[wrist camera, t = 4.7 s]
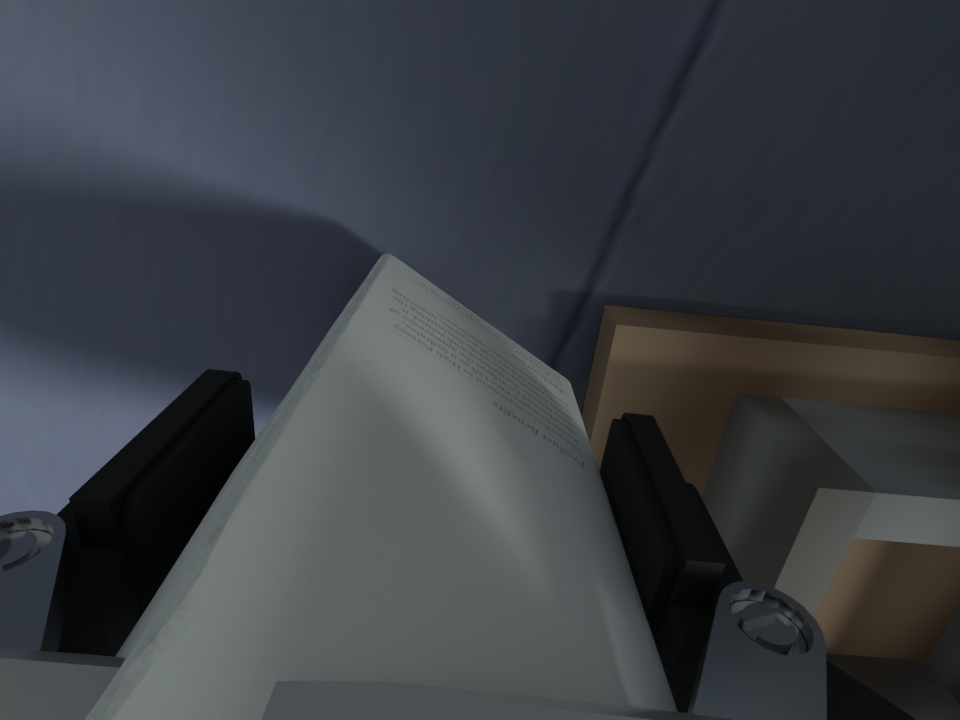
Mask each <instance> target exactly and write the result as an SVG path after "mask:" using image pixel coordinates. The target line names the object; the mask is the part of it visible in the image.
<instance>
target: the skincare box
mask: <svg viewBox="0 0 960 720" xmlns="http://www.w3.org/2000/svg"><path fill="white" fill-rule="evenodd" d="M115 657H122V658H125V660H124V662H123V664H122V666H121V667H120V669H119V670H118V672H117V673H116V675H115V676H114V678H113V679H112V681H111V683H110V684H109V685H108V687H107V688H106V690H105V691H104V693H103V694H102V695H101V697H100V698H99V700H98V701H97V703H96V704H95V705H94V707H93V708H92V710H91V711H90V713H89V714H88V715H87V717H86V718H85V720H261V719H262V716H263V714H264V711H265V709H266V706H267V704H268V701H269V699H270V697H271V694H272V691H273V689H274V686H275V684H276V681H383V682H393V683H404V684H414V685H424V686H435V687H445V688H455V689H465V690H475V691H485V692H495V693H505V694H515V695H525V696H534V697H544V698H554V699H564V700H574V701H584V702H594V703H604V704H613V705H622V706H631V707H639V708H647V709H656V710H664V711H673V712H678V711H677V708H676V705H675V702H674V699H673V696H672V693H671V690H670V687H669V684H668V681H667V678H666V675H665V672H664V669H663V666H662V663H661V660H660V657H659V654H658V651H657V648H656V644H655V641H654V638H653V635H652V632H651V629H650V626H649V623H648V621H647V618H646V615H645V612H644V609H643V606H642V602H641V599H640V596H639V593H638V590H637V587H636V584H635V581H634V578H633V575H632V571H631V568H630V565H629V562H628V559H627V556H626V553H625V550H624V547H623V543H622V540H621V537H620V534H619V531H618V528H617V525H616V522H615V518H614V515H613V512H612V509H611V506H610V503H609V500H608V497H607V494H606V491H605V488H604V484H603V481H602V478H601V475H600V472H599V469H598V467H597V463H596V460H595V457H594V455H593V452H592V449H591V446H590V443H589V440H588V436H587V433H586V430H585V426H584V423H583V420H582V417H581V414H580V411H579V408H578V405H577V401H576V398H575V395H574V392H573V389H572V386H571V383H570V382H569V380H567V379H566V378H565V377H563V376H562V375H561V374H559V373H558V372H556V371H555V370H553V369H552V368H550V367H549V366H548V365H546V364H545V363H543V362H542V361H541V360H539V359H538V358H536V357H535V356H534V355H532V354H531V353H529V352H528V351H527V350H525V349H524V348H522V347H521V346H520V345H518V344H517V343H515V342H514V341H513V340H511V339H510V338H508V337H507V336H506V335H504V334H503V333H501V332H500V331H499V330H497V329H496V328H494V327H493V326H492V325H490V324H489V323H487V322H486V321H485V320H483V319H482V318H480V317H479V316H477V315H476V314H475V313H473V312H472V311H470V310H469V309H468V308H466V307H465V306H463V305H462V304H461V303H459V302H458V301H456V300H455V299H453V298H452V297H451V296H449V295H448V294H446V293H445V292H444V291H442V290H441V289H439V288H438V287H437V286H435V285H434V284H432V283H431V282H430V281H428V280H427V279H426V278H424V277H423V276H421V275H420V274H419V273H417V272H416V271H414V270H413V269H412V268H410V267H409V266H408V265H406V264H405V263H403V262H402V261H400V260H399V259H397V258H396V257H394V256H393V255H391V254H388V253H385V254H383V255H382V256H381V257H380V258H379V260H378V261H377V262H376V264H375V265H374V267H373V268H372V270H371V271H370V272H369V274H368V275H367V277H366V278H365V280H364V281H363V282H362V284H361V285H360V287H359V288H358V290H357V291H356V292H355V294H354V295H353V297H352V298H351V300H350V301H349V302H348V304H347V305H346V307H345V308H344V309H343V311H342V312H341V314H340V315H339V317H338V318H337V320H336V321H335V322H334V324H333V325H332V327H331V328H330V330H329V331H328V333H327V334H326V336H325V337H324V339H323V340H322V342H321V343H320V345H319V347H318V348H317V350H316V351H315V353H314V354H313V356H312V357H311V359H310V360H309V362H308V364H307V365H306V367H305V368H304V370H303V371H302V373H301V374H300V376H299V377H298V378H297V380H296V381H295V383H294V384H293V386H292V387H291V389H290V390H289V392H288V393H287V395H286V396H285V398H284V399H283V400H282V402H281V403H280V405H279V406H278V407H277V409H276V410H275V412H274V413H273V415H272V416H271V417H270V419H269V420H268V422H267V423H266V425H265V426H264V428H263V429H262V430H261V432H260V433H259V435H258V436H257V438H256V439H255V440H254V442H253V443H252V445H251V446H250V448H249V449H248V451H247V452H246V453H245V455H244V456H243V458H242V459H241V461H240V462H239V464H238V465H237V466H236V468H235V469H234V471H233V472H232V474H231V475H230V477H229V479H228V480H227V482H226V483H225V485H224V486H223V488H222V490H221V491H220V493H219V494H218V496H217V498H216V499H215V501H214V502H213V504H212V505H211V507H210V509H209V510H208V512H207V513H206V515H205V517H204V518H203V520H202V521H201V523H200V525H199V526H198V528H197V529H196V531H195V532H194V534H193V536H192V537H191V539H190V540H189V542H188V544H187V545H186V547H185V548H184V550H183V551H182V553H181V555H180V556H179V558H178V559H177V561H176V563H175V564H174V566H173V567H172V569H171V570H170V572H169V574H168V575H167V577H166V578H165V580H164V582H163V583H162V585H161V586H160V588H159V589H158V591H157V593H156V594H155V596H154V597H153V599H152V601H151V602H150V604H149V605H148V607H147V608H146V610H145V611H144V613H143V614H142V616H141V617H140V619H139V621H138V622H137V624H136V625H135V627H134V628H133V630H132V631H131V633H130V634H129V636H128V637H127V639H126V640H125V642H124V644H123V645H122V647H121V648H120V650H119V651H118V653H117V654H116V656H115Z"/></svg>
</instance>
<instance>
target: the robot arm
mask: <svg viewBox="0 0 960 720" xmlns="http://www.w3.org/2000/svg"><path fill="white" fill-rule="evenodd" d="M254 440H255V431H254V420H253V408H252V396H251V386H250V383H249V381H248V380H242V377H241V374H240V373H238V372H231V371H222V370H212V369H208V370H207V371H205V372H204V373H203V374H202V375H201V376H200V377H199V378H198V379H196V380H195V381H194V382H193V383H192V384H191V385H190V386H189V387H188V388H187V389H186V390H185V391H184V392H183V393H181V394H180V395H179V396H178V397H177V398H176V399H175V400H174V401H173V402H172V403H171V404H170V405H169V406H168V407H166V408H165V409H164V410H163V411H162V412H161V413H160V414H159V415H158V416H157V417H156V418H155V419H154V420H153V421H151V422H150V423H149V424H148V425H147V426H146V427H145V428H144V429H143V430H142V431H141V432H140V433H139V434H138V435H136V436H135V437H134V438H133V439H132V440H131V441H130V442H129V443H128V444H127V445H126V446H125V447H124V448H123V449H121V450H120V451H119V452H118V453H117V454H116V455H115V456H114V457H113V458H112V459H111V460H110V461H109V462H107V463H106V464H105V465H104V466H103V467H102V468H101V469H100V470H99V471H98V472H97V473H96V474H95V475H94V476H92V477H91V478H90V479H89V480H88V481H87V482H86V483H85V484H84V485H83V486H82V487H81V488H80V489H79V490H77V491H76V492H75V493H74V494H73V495H72V496H71V497H70V498H69V500H70V502H69V503H68V504H67V505H66V506H65V507H64V508H63V509H62V510H61V511H60V512H59V513H58V514H57V515H55V514H52V513H50V512H45V511H34V510H32V511H23V512H14V513H10V514H6V515H3V516H0V720H85V718H86V717H87V715H88V714H89V713H90V711H91V710H92V708H93V707H94V705H95V704H96V703H97V701H98V700H99V698H100V697H101V695H102V694H103V693H104V691H105V690H106V688H107V687H108V685H109V684H110V683H111V681H112V679H113V678H114V676H115V675H116V673H117V672H118V670H119V669H120V667H121V666H122V664H123V662H124V660H125V658H122V657H115V656H116V654H117V653H118V651H119V650H120V648H121V647H122V645H123V644H124V642H125V640H126V639H127V637H128V636H129V634H130V633H131V631H132V630H133V628H134V627H135V625H136V624H137V622H138V621H139V619H140V617H141V616H142V614H143V613H144V611H145V610H146V608H147V607H148V605H149V604H150V602H151V601H152V599H153V597H154V596H155V594H156V593H157V591H158V589H159V588H160V586H161V585H162V583H163V582H164V580H165V578H166V577H167V575H168V574H169V572H170V570H171V569H172V567H173V566H174V564H175V563H176V561H177V559H178V558H179V556H180V555H181V553H182V551H183V550H184V548H185V547H186V545H187V544H188V542H189V540H190V539H191V537H192V536H193V534H194V532H195V531H196V529H197V528H198V526H199V525H200V523H201V521H202V520H203V518H204V517H205V515H206V513H207V512H208V510H209V509H210V507H211V505H212V504H213V502H214V501H215V499H216V498H217V496H218V494H219V493H220V491H221V490H222V488H223V486H224V485H225V483H226V482H227V480H228V479H229V477H230V475H231V474H232V472H233V471H234V469H235V468H236V466H237V465H238V464H239V462H240V461H241V459H242V458H243V456H244V455H245V453H246V452H247V451H248V449H249V448H250V446H251V445H252V443H253V442H254ZM600 475H601V478H602V481H603V484H604V488H605V491H606V494H607V497H608V500H609V503H610V506H611V509H612V512H613V515H614V518H615V522H616V525H617V528H618V531H619V534H620V537H621V540H622V543H623V547H624V550H625V553H626V556H627V559H628V562H629V565H630V568H631V571H632V575H633V578H634V581H635V584H636V587H637V590H638V593H639V596H640V599H641V602H642V606H643V609H644V612H645V615H646V618H647V621H648V623H649V626H650V629H651V632H652V635H653V638H654V641H655V644H656V648H657V651H658V654H659V657H660V660H661V663H662V666H663V669H664V672H665V675H666V678H667V681H668V684H669V687H670V690H671V693H672V696H673V699H674V702H675V705H676V708H677V711H678V712H673V711H664V710H656V709H647V708H639V707H631V706H622V705H613V704H604V703H594V702H584V701H574V700H564V699H554V698H544V697H534V696H525V695H515V694H505V693H495V692H485V691H475V690H465V689H455V688H445V687H435V686H424V685H414V684H404V683H393V682H383V681H276V684H275V686H274V689H273V691H272V694H271V697H270V699H269V701H268V704H267V706H266V709H265V711H264V714H263V716H262V719H261V720H916V719H915V718H913V717H912V716H910V715H909V714H907V713H906V712H904V711H903V710H901V709H900V708H898V707H897V706H895V705H894V704H892V703H891V702H889V701H888V700H886V699H885V698H883V697H882V696H880V695H879V694H877V693H876V692H874V691H873V690H871V689H870V688H868V687H867V686H865V685H864V684H862V683H861V682H859V681H858V680H856V679H855V678H853V677H852V676H850V675H849V674H847V673H846V672H844V671H843V670H841V669H840V668H838V667H837V666H835V665H834V664H832V663H831V662H829V661H828V660H826V642H825V638H824V634H823V631H822V630H821V628H820V626H819V624H818V623H817V621H816V619H815V618H814V617H813V616H812V615H811V614H810V613H809V612H808V611H807V610H806V609H805V607H804V606H802V605H801V604H800V603H798V602H797V601H796V600H794V599H793V598H792V597H790V596H789V595H787V594H785V593H783V592H781V591H779V590H777V589H776V588H773V587H770V586H767V585H764V584H761V583H758V582H749V581H743V579H742V577H741V575H740V573H739V571H738V569H737V567H736V565H735V563H734V561H733V559H732V557H731V555H730V553H729V551H728V549H727V547H726V545H725V543H724V542H723V540H722V538H721V536H720V534H719V532H718V530H717V528H716V526H715V524H714V522H713V520H712V518H711V516H710V514H709V512H708V510H707V508H706V506H705V504H704V502H703V500H702V498H701V496H700V494H699V492H698V490H697V489H696V487H695V486H694V485H693V484H691V483H686V481H685V479H684V477H683V475H682V473H681V471H680V469H679V467H678V465H677V463H676V461H675V459H674V457H673V455H672V453H671V451H670V448H669V446H668V444H667V442H666V440H665V438H664V436H663V434H662V432H661V430H660V428H659V426H658V424H657V422H656V420H655V418H654V417H653V416H652V415H644V414H634V413H624V414H623V415H622V417H621V419H615V418H614V419H613V420H612V422H611V426H610V430H609V434H608V438H607V442H606V446H605V451H604V455H603V459H602V463H601V467H600Z"/></svg>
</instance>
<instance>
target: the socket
mask: <svg viewBox="0 0 960 720" xmlns="http://www.w3.org/2000/svg"><path fill="white" fill-rule="evenodd" d="M624 413H634V414H644V415H652V416H653V417H654V418H655V420H656V422H657V424H658V426H659V428H660V430H661V432H662V434H663V436H664V438H665V440H666V442H667V444H668V446H669V448H670V451H671V453H672V455H673V457H674V459H675V461H676V463H677V465H678V467H679V469H680V471H681V473H682V475H683V477H684V479H685V481H686V483H691V484H693V485H694V486H695V487H696V489H697V490H698V492H699V494H700V496H701V498H702V500H703V502H704V504H705V506H706V508H707V510H708V512H709V514H710V516H711V518H712V520H713V522H714V524H715V526H716V528H717V530H718V532H719V534H720V536H721V538H722V540H723V542H724V543H725V545H726V547H727V549H728V551H729V553H730V555H731V557H732V559H733V561H734V563H735V565H736V567H737V569H738V571H739V573H740V575H741V577H742V579H743V581H749V582H758V583H761V584H764V585H767V586H770V587H773V588H776V589H777V590H779V591H781V592H783V593H785V594H787V595H789V596H790V597H792V598H793V599H794V600H796V601H797V602H798V603H800V604H801V605H802V606H804V607H805V609H806V610H807V611H808V612H809V613H810V614H811V615H812V616H813V617H814V618H815V619H816V621H817V623H818V624H819V626H820V628H821V630H822V631H823V634H824V638H825V642H826V660H828V661H829V662H831V663H832V664H834V665H835V666H837V667H838V668H840V669H841V670H843V671H844V672H846V673H847V674H849V675H850V676H852V677H853V678H855V679H856V680H858V681H859V682H861V683H862V684H864V685H865V686H867V687H868V688H870V689H871V690H873V691H874V692H876V693H877V694H879V695H880V696H882V697H883V698H885V699H886V700H888V701H889V702H891V703H892V704H894V705H895V706H897V707H898V708H900V709H901V710H903V711H904V712H906V713H907V714H909V715H910V716H912V717H913V718H915V719H916V720H960V340H954V339H944V338H934V337H924V336H914V335H904V334H894V333H884V332H874V331H864V330H854V329H844V328H834V327H823V326H813V325H803V324H793V323H783V322H773V321H763V320H753V319H743V318H733V317H723V316H713V315H703V314H693V313H683V312H673V311H663V310H653V309H643V308H633V307H623V306H613V305H605V306H604V311H603V316H602V321H601V325H600V330H599V335H598V340H597V344H596V349H595V354H594V359H593V364H592V368H591V373H590V378H589V383H588V388H587V392H586V397H585V402H584V407H583V412H582V416H581V417H582V420H583V423H584V426H585V430H586V433H587V436H588V440H589V443H590V446H591V449H592V452H593V455H594V457H595V460H596V463H597V467H598V469H599V472H600V467H601V463H602V459H603V455H604V451H605V446H606V442H607V438H608V434H609V430H610V426H611V422H612V420H613V419H614V418H615V419H621V417H622V415H623V414H624Z"/></svg>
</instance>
